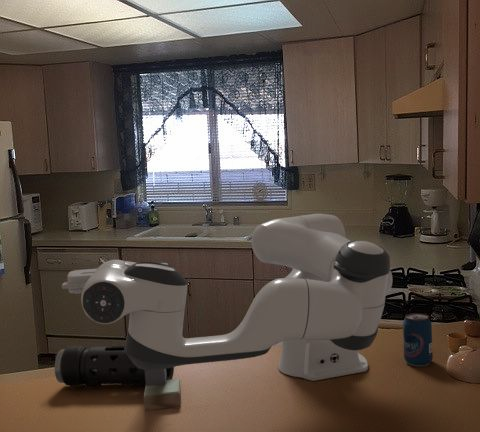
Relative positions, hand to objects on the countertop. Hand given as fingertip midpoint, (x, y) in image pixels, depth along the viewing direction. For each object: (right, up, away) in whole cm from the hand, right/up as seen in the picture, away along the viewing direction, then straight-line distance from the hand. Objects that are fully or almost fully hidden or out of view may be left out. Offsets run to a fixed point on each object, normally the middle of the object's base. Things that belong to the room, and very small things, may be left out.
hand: (122, 270), depth 124 cm
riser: (+8, -31, +9) cm, 33 cm away
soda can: (+70, -26, +22) cm, 78 cm away
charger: (+6, -27, +12) cm, 30 cm away
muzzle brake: (-6, -31, +20) cm, 37 cm away
